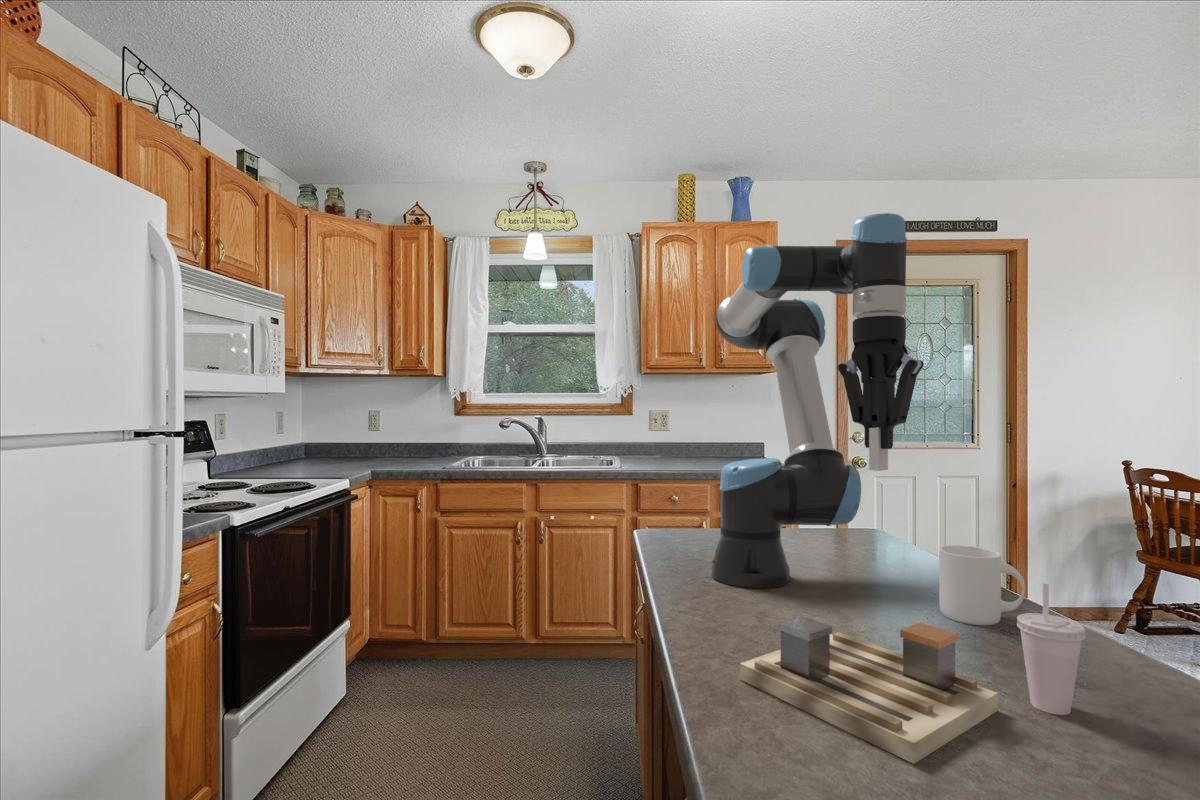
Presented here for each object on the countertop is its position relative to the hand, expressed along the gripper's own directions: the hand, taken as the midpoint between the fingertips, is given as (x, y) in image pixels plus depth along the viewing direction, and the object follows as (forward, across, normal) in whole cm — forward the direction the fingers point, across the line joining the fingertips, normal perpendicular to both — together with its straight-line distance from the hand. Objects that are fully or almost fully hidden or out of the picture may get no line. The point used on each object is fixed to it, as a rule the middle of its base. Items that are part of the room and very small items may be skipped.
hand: (878, 469), depth 95 cm
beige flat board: (+24, +11, -22) cm, 35 cm away
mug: (+25, +7, +18) cm, 31 cm away
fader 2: (+22, +16, -17) cm, 32 cm away
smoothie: (+25, +25, -7) cm, 36 cm away
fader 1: (+22, +7, -27) cm, 36 cm away
